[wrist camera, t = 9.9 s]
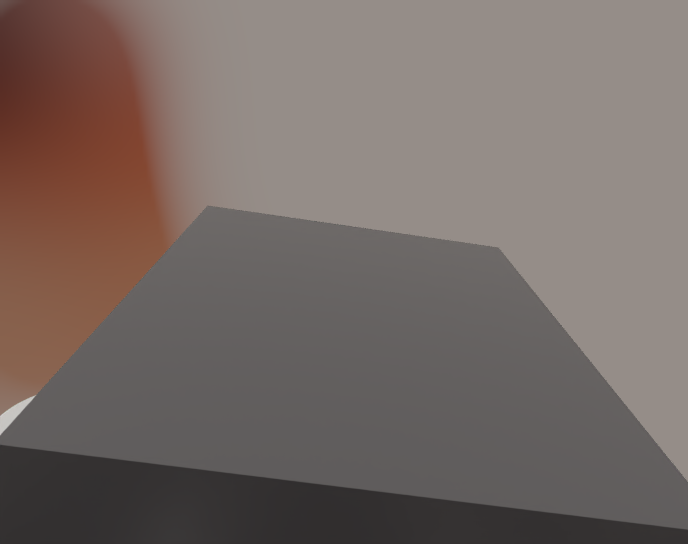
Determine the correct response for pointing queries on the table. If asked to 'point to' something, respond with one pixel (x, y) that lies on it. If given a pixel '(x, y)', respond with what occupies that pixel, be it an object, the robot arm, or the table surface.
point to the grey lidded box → (332, 406)
